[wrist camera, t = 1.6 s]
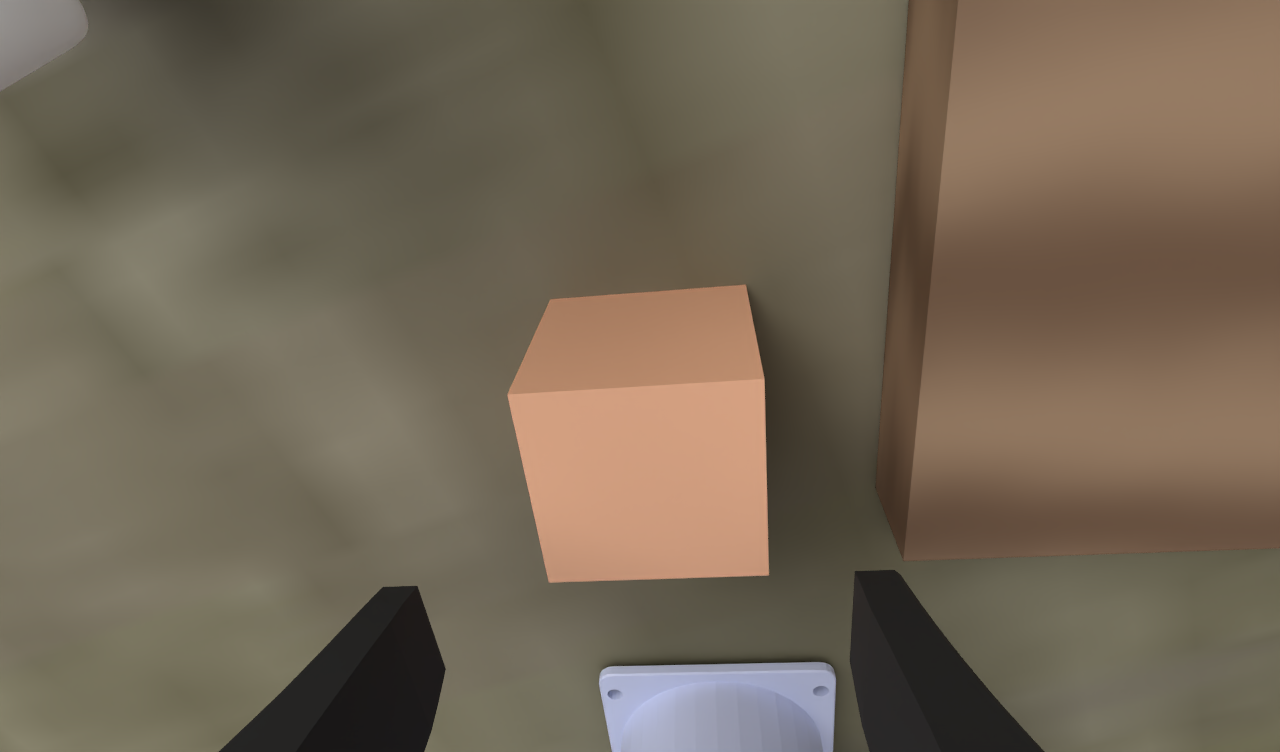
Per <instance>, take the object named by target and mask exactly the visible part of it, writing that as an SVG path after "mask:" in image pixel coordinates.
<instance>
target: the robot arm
mask: <svg viewBox="0 0 1280 752" xmlns="http://www.w3.org/2000/svg"><path fill="white" fill-rule="evenodd" d="M850 664H851V669H852V675H853V680H854V686H855V691H856V697H857V702H858V707H859V712H860V717H861V722H862V727H863V730H864V734H865V737H866V741H867V744H868V747H869V751H870V752H1044V751H1043V750H1042V749H1041V748H1040V747H1039V745H1038V744H1037V743H1036V742H1035V741H1034V740H1033V739H1032V738H1031V737H1030V736H1029V735H1028V733H1027V732H1026V731H1025V730H1024V729H1023V728H1022V727H1021V726H1020V725H1019V724H1018V723H1017V721H1016V720H1015V719H1014V718H1013V717H1012V716H1011V715H1010V714H1009V713H1008V711H1007V710H1006V709H1005V708H1004V707H1003V706H1002V705H1001V704H1000V702H999V701H998V700H997V699H996V698H995V697H994V696H993V694H992V693H991V692H990V691H989V690H988V688H987V687H986V686H985V685H984V684H983V682H982V681H981V680H980V679H979V678H978V676H977V675H976V674H975V673H974V672H973V670H972V669H971V668H970V667H969V666H968V664H967V663H966V662H965V661H964V660H963V658H962V657H961V656H960V655H959V653H958V652H957V651H956V650H955V648H954V647H953V646H952V645H951V643H950V642H949V641H948V639H947V638H946V637H945V636H944V634H943V633H942V632H941V630H940V629H939V628H938V626H937V625H936V624H935V622H934V621H933V620H932V618H931V617H930V616H929V614H928V613H927V612H926V610H925V609H924V608H923V606H922V605H921V603H920V602H919V601H918V599H917V598H916V596H915V595H914V594H913V592H912V591H911V589H910V588H909V586H908V585H907V583H906V582H905V581H904V579H903V578H902V576H901V575H900V574H899V573H898V572H896V571H895V570H880V571H855V578H854V596H853V614H852V632H851V650H850ZM445 670H446V669H445V666H444V663H443V660H442V657H441V654H440V651H439V648H438V645H437V642H436V639H435V636H434V633H433V631H432V628H431V625H430V622H429V619H428V616H427V613H426V610H425V607H424V604H423V601H422V598H421V595H420V592H419V590H418V587H417V586H400V587H382V588H381V589H380V591H379V592H378V593H377V594H376V595H375V596H374V597H373V598H372V599H371V600H370V601H369V602H368V603H367V604H366V605H365V606H364V607H363V608H362V609H361V610H360V611H359V612H358V613H357V614H356V615H355V616H354V617H353V618H352V620H351V621H350V622H349V623H348V624H347V625H346V626H345V627H344V628H343V629H342V630H341V631H340V632H339V633H338V634H337V635H336V636H335V637H334V639H333V640H332V641H331V642H330V643H329V644H328V645H327V646H326V647H325V648H324V649H323V650H322V651H321V652H320V653H319V654H318V655H317V656H316V657H315V658H314V659H313V660H312V661H311V662H310V663H309V664H308V665H307V667H306V668H305V669H304V670H303V671H302V672H301V673H300V674H299V675H298V676H297V677H296V678H295V679H294V680H293V681H292V682H291V683H290V684H289V685H288V686H287V687H286V688H285V689H284V690H283V691H282V692H281V693H280V694H279V695H278V696H277V697H276V698H275V699H274V700H273V701H272V702H271V703H270V704H269V705H267V706H266V707H265V708H264V709H263V710H262V711H261V712H260V713H259V714H258V715H257V716H256V717H255V718H254V719H253V720H252V721H251V722H250V723H249V724H248V725H247V726H245V727H244V728H243V729H242V730H241V731H240V732H239V733H238V734H237V735H236V736H235V737H234V738H233V739H232V740H231V741H230V742H229V743H228V744H227V745H226V746H224V747H223V748H222V749H221V750H220V751H219V752H424V751H425V748H426V745H427V742H428V739H429V736H430V733H431V730H432V726H433V722H434V718H435V714H436V710H437V706H438V702H439V697H440V693H441V688H442V683H443V679H444V674H445ZM599 686H600V692H601V697H602V702H603V707H604V712H605V718H606V723H607V728H608V733H609V738H610V743H611V749H612V752H833V741H834V717H835V694H836V677H835V672H834V668H833V667H832V666H831V665H829V664H827V663H824V662H795V663H747V664H699V665H650V666H611V667H607V668H605V669H603V670H602V671H601V673H600V680H599Z"/></svg>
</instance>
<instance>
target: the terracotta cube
mask: <svg viewBox="0 0 1280 752" xmlns="http://www.w3.org/2000/svg"><path fill="white" fill-rule="evenodd" d="M507 395H508V399H509V404H510V409H511V413H512V418H513V422H514V427H515V431H516V436H517V440H518V445H519V449H520V454H521V458H522V463H523V467H524V472H525V476H526V481H527V485H528V490H529V495H530V499H531V504H532V508H533V513H534V517H535V522H536V526H537V531H538V535H539V540H540V544H541V549H542V553H543V558H544V562H545V567H546V571H547V576H548V580H549V583H551V582H582V581H612V580H643V579H674V578H704V577H735V576H765V575H769V558H768V513H767V469H766V424H765V380H764V374H763V369H762V364H761V359H760V354H759V349H758V344H757V339H756V334H755V328H754V323H753V318H752V313H751V308H750V303H749V298H748V293H747V288H746V285H735V286H722V287H708V288H695V289H682V290H668V291H655V292H641V293H628V294H615V295H601V296H588V297H575V298H561V299H550V301H549V303H548V306H547V308H546V310H545V312H544V315H543V317H542V319H541V321H540V323H539V326H538V328H537V330H536V332H535V334H534V337H533V339H532V341H531V343H530V346H529V348H528V350H527V352H526V354H525V357H524V359H523V361H522V363H521V366H520V368H519V370H518V372H517V374H516V377H515V379H514V381H513V383H512V386H511V388H510V390H509V392H508V394H507Z"/></svg>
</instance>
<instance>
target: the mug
mask: <svg viewBox="0 0 1280 752" xmlns="http://www.w3.org/2000/svg"><path fill="white" fill-rule="evenodd" d="M88 28H89V27H88V19H87V16H86V13H85V11H84V8H83V6H82V4H81V2H80V0H0V91H2V90H3V89H5V88H7V87H8V86H10V85H12V84H13V83H15V82H17V81H19V80H20V79H22V78H24V77H25V76H27V75H29V74H30V73H32V72H34V71H35V70H37V69H39V68H40V67H42V66H43V65H45V64H47V63H48V62H50V61H52V60H53V59H55V58H57V57H58V56H60V55H62V54H63V53H65V52H67V51H68V50H70V49H72V48H73V47H75V46H76V45H77V44H79V43H80V42H81V41H82V40H83V39H84V37H85V36H86V34H87V31H88Z"/></svg>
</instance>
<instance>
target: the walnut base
mask: <svg viewBox="0 0 1280 752" xmlns="http://www.w3.org/2000/svg"><path fill="white" fill-rule="evenodd" d="M875 488H876V490H877V493H878V496H879V498H880V501H881V503H882V506H883V509H884V511H885V514H886V517H887V519H888V522H889V525H890V527H891V530H892V532H893V535H894V538H895V540H896V543H897V546H898V548H899V551H900V553H901V556H902V559H903V561H921V560H950V559H979V558H1008V557H1037V556H1066V555H1095V554H1124V553H1153V552H1182V551H1211V550H1240V549H1269V548H1280V0H909V5H908V20H907V34H906V49H905V64H904V78H903V93H902V107H901V122H900V136H899V151H898V166H897V180H896V195H895V209H894V224H893V239H892V253H891V268H890V282H889V297H888V311H887V326H886V341H885V355H884V370H883V384H882V399H881V414H880V428H879V443H878V457H877V472H876V486H875Z"/></svg>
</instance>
